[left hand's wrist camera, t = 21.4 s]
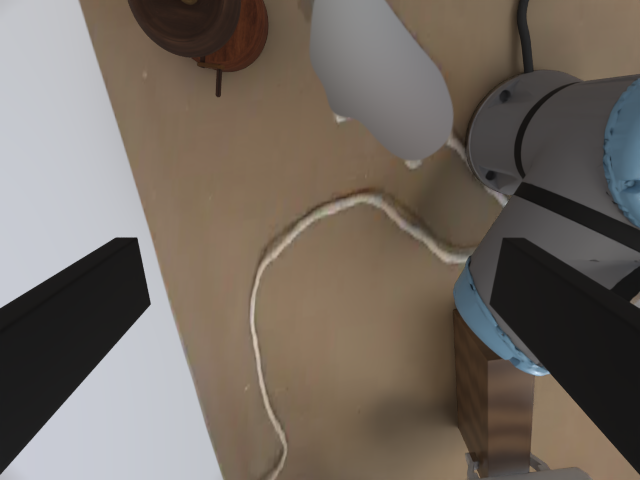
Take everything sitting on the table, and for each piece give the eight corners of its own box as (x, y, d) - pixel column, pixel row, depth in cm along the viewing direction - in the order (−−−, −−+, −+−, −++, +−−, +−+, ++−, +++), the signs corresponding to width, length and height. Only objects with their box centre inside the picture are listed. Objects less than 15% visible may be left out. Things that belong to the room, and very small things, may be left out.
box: (453, 309, 54) (487, 361, 43) (491, 303, 53) (536, 354, 42) (458, 427, 63) (488, 495, 52) (491, 423, 62) (528, 490, 51)
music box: (165, -51, 37) (40, -216, 18) (265, -46, 38) (243, -199, 19) (183, 99, 42) (100, 88, 24) (271, 100, 43) (258, 91, 25)
